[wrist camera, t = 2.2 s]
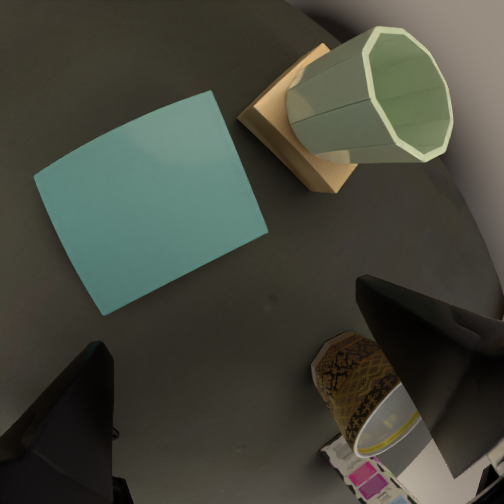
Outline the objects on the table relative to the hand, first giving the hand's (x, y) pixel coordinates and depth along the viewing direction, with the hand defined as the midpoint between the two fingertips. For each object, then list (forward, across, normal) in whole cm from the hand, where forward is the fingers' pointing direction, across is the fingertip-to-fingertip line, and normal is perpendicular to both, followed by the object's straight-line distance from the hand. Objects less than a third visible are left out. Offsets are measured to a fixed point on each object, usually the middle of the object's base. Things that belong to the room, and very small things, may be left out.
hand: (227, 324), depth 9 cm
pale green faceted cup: (+11, -9, -5) cm, 16 cm away
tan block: (+15, -8, -5) cm, 18 cm away
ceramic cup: (+11, -10, +18) cm, 23 cm away
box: (+12, +4, -2) cm, 12 cm away
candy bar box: (+8, -9, +37) cm, 39 cm away
